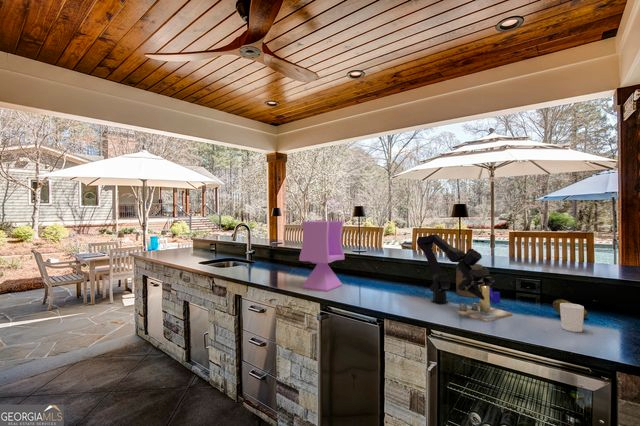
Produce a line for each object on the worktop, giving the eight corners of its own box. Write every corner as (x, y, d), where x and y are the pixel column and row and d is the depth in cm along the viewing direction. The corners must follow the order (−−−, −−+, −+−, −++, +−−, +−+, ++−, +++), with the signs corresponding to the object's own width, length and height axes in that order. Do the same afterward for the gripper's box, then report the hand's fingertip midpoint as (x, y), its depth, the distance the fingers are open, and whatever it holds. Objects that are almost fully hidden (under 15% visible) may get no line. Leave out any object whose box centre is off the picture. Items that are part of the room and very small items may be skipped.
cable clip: (483, 297, 183) (483, 287, 183) (491, 298, 182) (491, 287, 182) (491, 303, 171) (491, 292, 171) (500, 303, 170) (499, 292, 170)
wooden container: (484, 293, 193) (483, 257, 193) (481, 298, 180) (481, 260, 180) (458, 290, 201) (458, 256, 201) (454, 295, 188) (453, 259, 188)
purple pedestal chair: (327, 292, 197) (327, 221, 197) (299, 288, 209) (299, 221, 210) (344, 285, 216) (344, 221, 216) (317, 282, 228) (317, 220, 228)
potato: (589, 322, 139) (588, 304, 139) (553, 317, 147) (552, 300, 147) (587, 317, 146) (586, 300, 146) (552, 312, 153) (552, 296, 153)
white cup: (555, 326, 135) (555, 303, 135) (572, 325, 135) (571, 302, 135) (571, 333, 127) (571, 308, 127) (589, 332, 127) (589, 307, 128)
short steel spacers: (458, 310, 155) (458, 303, 155) (481, 305, 163) (481, 298, 163) (473, 314, 148) (473, 307, 148) (496, 309, 156) (496, 302, 156)
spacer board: (455, 312, 155) (455, 310, 155) (481, 306, 164) (481, 304, 164) (486, 322, 140) (486, 319, 140) (512, 315, 150) (512, 313, 150)
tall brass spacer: (478, 310, 148) (478, 284, 148) (486, 309, 149) (485, 284, 149) (483, 312, 144) (483, 286, 144) (491, 312, 145) (491, 286, 145)
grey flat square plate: (471, 314, 148) (471, 313, 148) (482, 312, 152) (482, 310, 152) (487, 319, 141) (487, 318, 141) (498, 316, 145) (498, 315, 145)
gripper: (462, 262, 147) (483, 291, 136) (491, 260, 154) (512, 287, 144) (450, 276, 154) (468, 304, 144) (477, 273, 161) (497, 300, 151)
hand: (487, 299), depth 145 cm, fingers closed on tall brass spacer, 4 cm apart
